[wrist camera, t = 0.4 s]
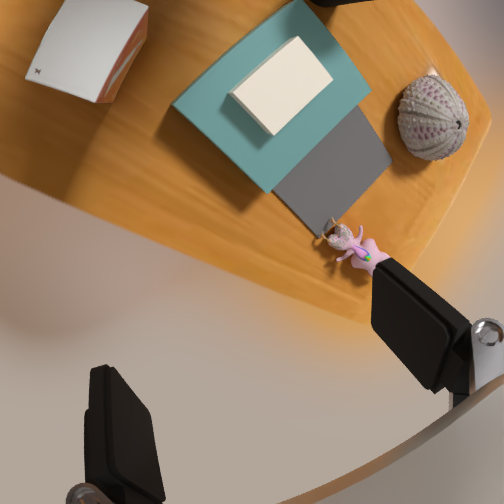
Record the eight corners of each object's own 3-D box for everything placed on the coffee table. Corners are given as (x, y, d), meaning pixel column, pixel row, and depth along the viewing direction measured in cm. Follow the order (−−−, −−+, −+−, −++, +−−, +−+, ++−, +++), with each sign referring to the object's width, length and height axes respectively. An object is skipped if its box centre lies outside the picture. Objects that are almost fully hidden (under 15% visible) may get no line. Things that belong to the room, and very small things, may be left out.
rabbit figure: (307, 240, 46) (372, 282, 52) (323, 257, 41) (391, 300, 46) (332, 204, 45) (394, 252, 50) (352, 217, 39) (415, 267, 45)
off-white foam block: (289, 38, 28) (298, 35, 26) (323, 79, 31) (333, 79, 29) (227, 92, 29) (232, 92, 27) (267, 133, 32) (274, 135, 31)
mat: (350, 96, 37) (351, 96, 37) (391, 160, 43) (393, 161, 43) (264, 181, 39) (265, 181, 39) (318, 237, 45) (319, 238, 45)
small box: (113, 103, 29) (95, 106, 18) (63, 84, 26) (21, 80, 15) (149, 37, 27) (151, 4, 16) (98, 18, 24) (76, -21, 13)
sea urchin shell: (455, 109, 43) (492, 118, 36) (423, 172, 46) (459, 188, 40) (413, 56, 37) (453, 58, 30) (375, 126, 40) (415, 136, 33)
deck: (284, 4, 29) (299, -4, 26) (353, 89, 37) (371, 90, 33) (170, 104, 31) (173, 104, 28) (255, 184, 39) (267, 194, 35)
